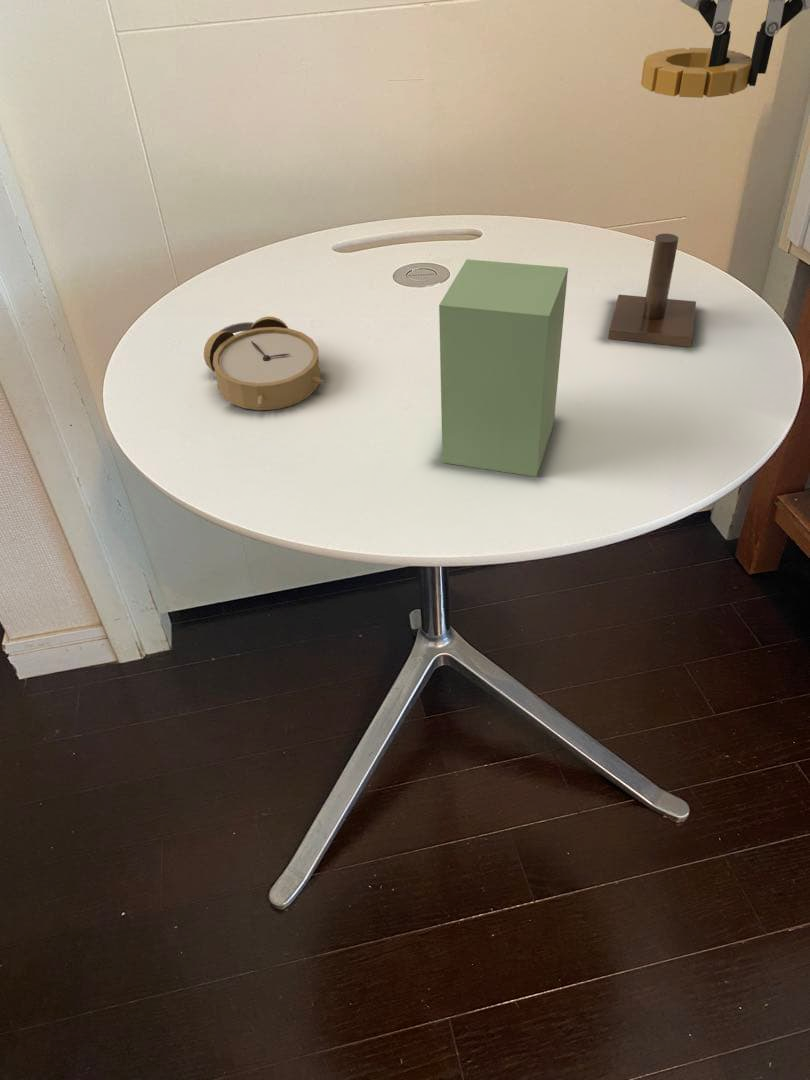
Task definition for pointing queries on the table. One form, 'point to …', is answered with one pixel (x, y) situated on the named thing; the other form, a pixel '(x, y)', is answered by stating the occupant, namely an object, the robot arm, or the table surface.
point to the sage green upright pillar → (500, 364)
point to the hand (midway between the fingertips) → (734, 79)
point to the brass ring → (695, 73)
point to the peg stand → (655, 305)
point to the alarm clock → (263, 364)
